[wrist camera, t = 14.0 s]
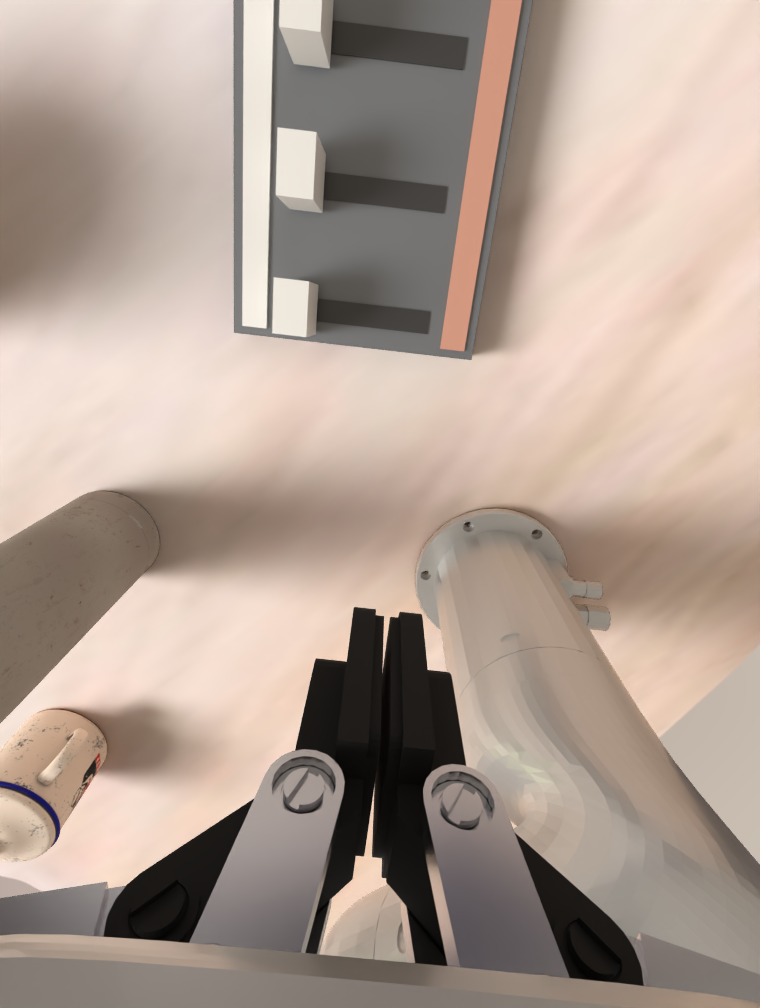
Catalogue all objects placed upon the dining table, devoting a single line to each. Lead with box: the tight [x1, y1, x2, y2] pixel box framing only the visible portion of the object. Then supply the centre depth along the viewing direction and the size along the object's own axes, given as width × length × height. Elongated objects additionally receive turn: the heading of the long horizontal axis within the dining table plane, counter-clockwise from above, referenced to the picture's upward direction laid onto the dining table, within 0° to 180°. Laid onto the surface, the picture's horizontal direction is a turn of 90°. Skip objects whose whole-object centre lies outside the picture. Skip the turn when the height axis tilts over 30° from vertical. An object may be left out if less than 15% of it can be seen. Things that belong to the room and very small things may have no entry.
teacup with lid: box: [0, 710, 107, 862], centre depth 44 cm, size 12×9×12 cm
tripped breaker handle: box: [279, 0, 334, 68], centre depth 25 cm, size 2×3×4 cm, turn 174°
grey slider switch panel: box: [234, 0, 533, 360], centre depth 27 cm, size 16×25×7 cm, turn 174°
